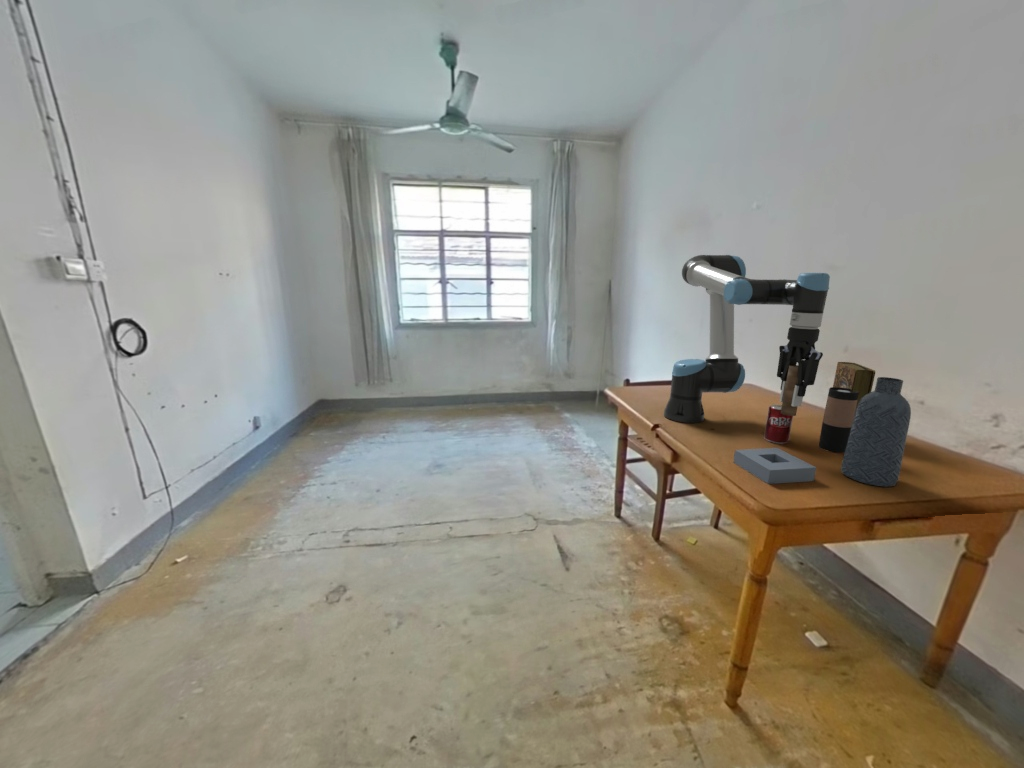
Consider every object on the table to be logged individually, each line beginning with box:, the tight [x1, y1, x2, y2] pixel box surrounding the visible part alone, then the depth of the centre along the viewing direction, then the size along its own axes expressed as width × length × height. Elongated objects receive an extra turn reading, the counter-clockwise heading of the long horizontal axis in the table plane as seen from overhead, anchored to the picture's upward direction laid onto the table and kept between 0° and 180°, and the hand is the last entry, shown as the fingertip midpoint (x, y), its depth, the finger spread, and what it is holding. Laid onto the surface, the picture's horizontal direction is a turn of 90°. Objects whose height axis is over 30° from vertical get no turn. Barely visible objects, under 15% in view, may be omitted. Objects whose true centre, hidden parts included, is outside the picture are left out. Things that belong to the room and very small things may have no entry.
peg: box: [781, 364, 799, 417], centre depth 125 cm, size 4×4×15 cm
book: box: [832, 361, 876, 412], centre depth 147 cm, size 16×6×25 cm, turn 161°
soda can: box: [763, 404, 794, 445], centre depth 141 cm, size 7×7×12 cm
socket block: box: [733, 447, 817, 485], centre depth 118 cm, size 14×14×4 cm
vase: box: [840, 376, 912, 488], centre depth 112 cm, size 12×12×28 cm
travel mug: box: [818, 386, 859, 454], centre depth 133 cm, size 8×8×20 cm
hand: (790, 403), depth 126 cm, fingers closed on peg, 4 cm apart
